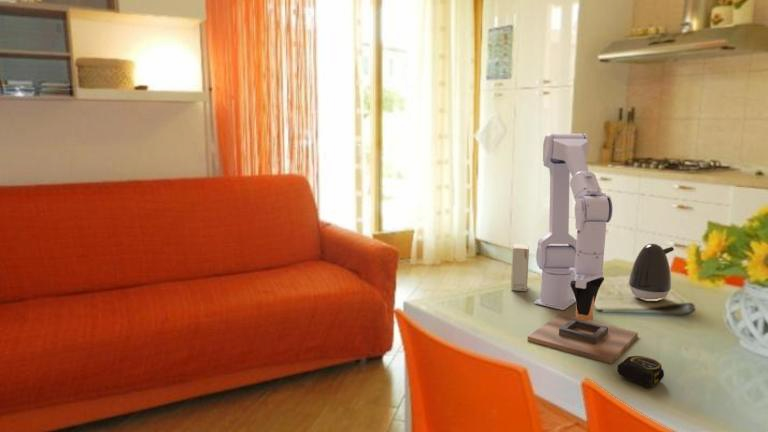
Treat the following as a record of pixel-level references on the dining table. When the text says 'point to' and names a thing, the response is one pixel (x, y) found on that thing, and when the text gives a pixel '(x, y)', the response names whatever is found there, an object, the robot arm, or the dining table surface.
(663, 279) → the pump dispenser
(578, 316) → the peg
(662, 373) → the tape measure
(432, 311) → the dining table surface
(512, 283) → the skincare box
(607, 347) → the socket
